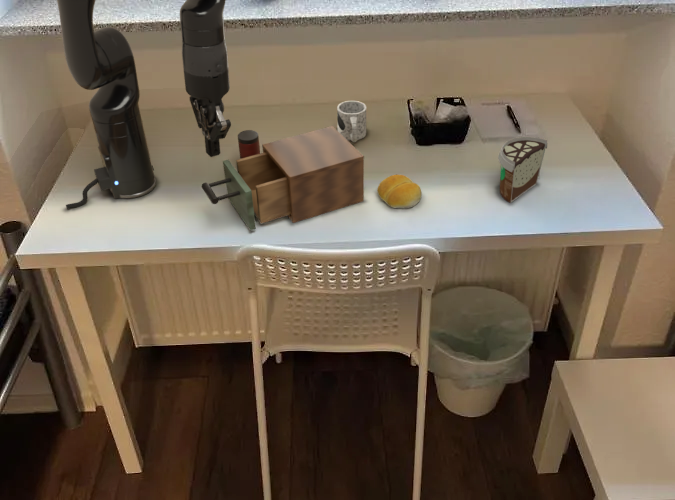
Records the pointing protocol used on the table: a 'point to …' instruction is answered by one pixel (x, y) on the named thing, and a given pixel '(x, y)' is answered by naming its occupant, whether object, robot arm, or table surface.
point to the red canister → (248, 143)
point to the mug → (351, 120)
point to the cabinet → (319, 171)
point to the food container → (520, 165)
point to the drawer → (254, 189)
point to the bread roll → (399, 191)
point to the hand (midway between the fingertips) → (213, 154)
